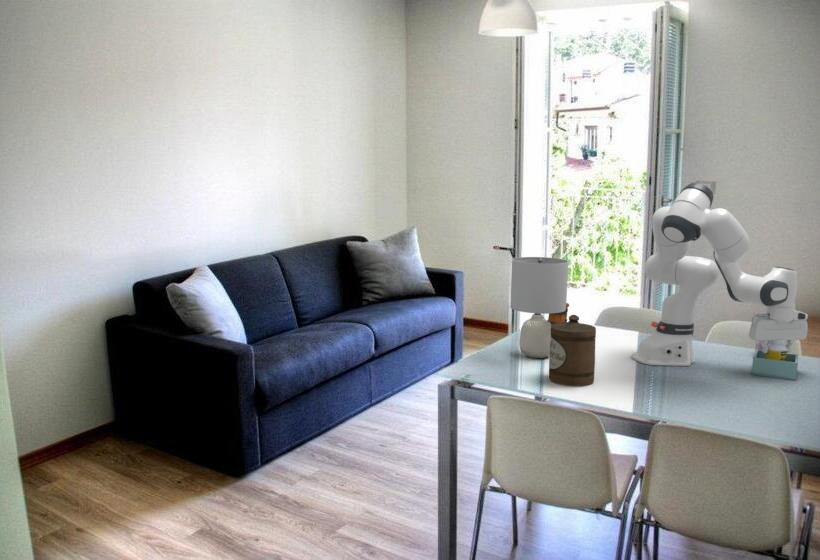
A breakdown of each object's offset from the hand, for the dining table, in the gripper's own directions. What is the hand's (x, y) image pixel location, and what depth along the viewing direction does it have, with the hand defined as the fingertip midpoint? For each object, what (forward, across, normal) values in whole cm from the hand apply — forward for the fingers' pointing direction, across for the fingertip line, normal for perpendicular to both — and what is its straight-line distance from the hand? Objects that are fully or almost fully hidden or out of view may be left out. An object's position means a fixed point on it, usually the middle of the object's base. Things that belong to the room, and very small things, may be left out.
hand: (776, 352), depth 249 cm
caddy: (+7, 0, 0) cm, 7 cm away
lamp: (+8, -76, +32) cm, 83 cm away
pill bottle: (+7, 0, 0) cm, 7 cm away
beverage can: (+8, +11, +21) cm, 25 cm away
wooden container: (+8, -75, +1) cm, 75 cm away
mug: (+8, -51, +73) cm, 89 cm away
